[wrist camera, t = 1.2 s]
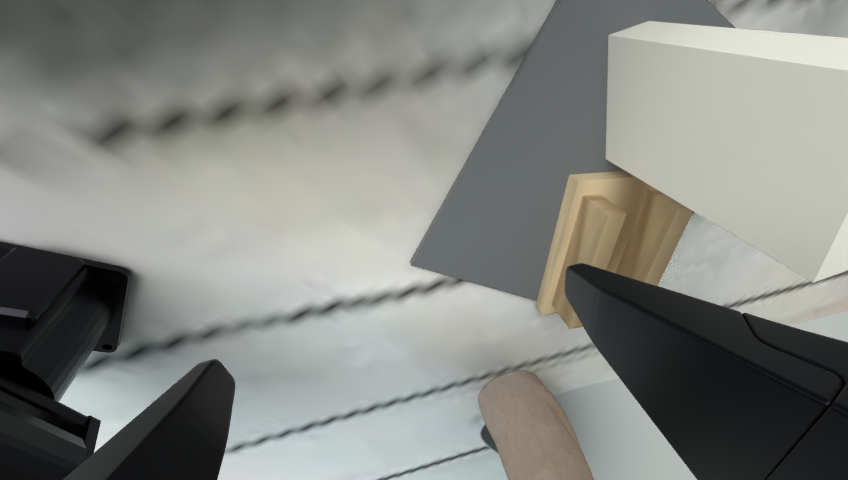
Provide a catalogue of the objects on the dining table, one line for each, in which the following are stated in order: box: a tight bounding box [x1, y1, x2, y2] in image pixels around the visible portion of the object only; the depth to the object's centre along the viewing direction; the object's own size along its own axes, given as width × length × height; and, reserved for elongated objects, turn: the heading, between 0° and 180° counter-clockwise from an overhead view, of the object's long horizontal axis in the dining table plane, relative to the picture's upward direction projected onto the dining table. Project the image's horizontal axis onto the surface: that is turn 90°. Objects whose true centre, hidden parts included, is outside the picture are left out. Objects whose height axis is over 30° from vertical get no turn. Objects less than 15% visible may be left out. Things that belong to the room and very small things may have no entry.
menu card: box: [606, 21, 848, 283], centre depth 16 cm, size 2×7×12 cm, turn 16°
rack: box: [536, 171, 693, 329], centre depth 25 cm, size 7×11×4 cm, turn 179°
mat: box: [410, 0, 735, 301], centre depth 24 cm, size 20×18×1 cm
